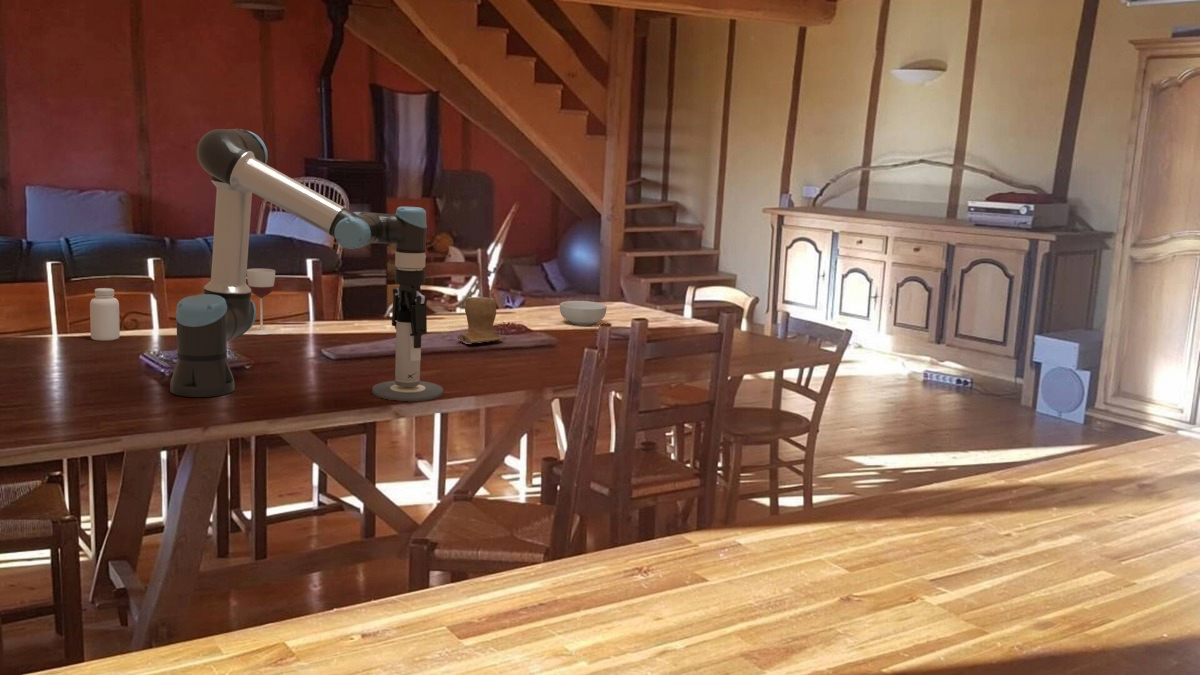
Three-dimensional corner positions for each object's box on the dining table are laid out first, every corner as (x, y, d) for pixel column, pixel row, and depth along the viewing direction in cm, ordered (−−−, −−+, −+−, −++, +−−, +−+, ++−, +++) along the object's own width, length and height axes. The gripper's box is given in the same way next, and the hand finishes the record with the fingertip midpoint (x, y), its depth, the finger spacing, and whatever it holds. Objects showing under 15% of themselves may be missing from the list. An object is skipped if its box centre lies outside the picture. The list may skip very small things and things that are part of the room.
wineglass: (271, 335, 345) (270, 272, 342) (243, 333, 345) (243, 271, 342) (278, 330, 353) (278, 269, 349) (251, 329, 353) (251, 267, 349)
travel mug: (415, 388, 278) (417, 310, 274) (391, 385, 279) (392, 308, 275) (424, 383, 284) (426, 307, 280) (400, 380, 285) (402, 305, 281)
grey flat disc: (393, 404, 269) (393, 399, 269) (359, 389, 283) (359, 383, 283) (456, 396, 281) (456, 391, 280) (420, 382, 294) (420, 377, 294)
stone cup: (484, 337, 361) (485, 292, 359) (507, 343, 353) (509, 297, 351) (447, 341, 351) (449, 295, 348) (471, 348, 343) (472, 300, 340)
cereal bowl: (554, 325, 390) (555, 305, 388) (564, 318, 406) (564, 299, 405) (601, 329, 387) (602, 309, 386) (608, 321, 403) (610, 302, 402)
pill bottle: (125, 338, 328) (124, 289, 326) (101, 342, 322) (99, 292, 319) (109, 335, 333) (108, 286, 330) (85, 338, 326) (83, 288, 323)
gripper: (443, 273, 271) (440, 363, 275) (404, 263, 285) (402, 349, 290) (416, 274, 266) (414, 366, 270) (378, 264, 281) (377, 351, 285)
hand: (408, 357), depth 280 cm, fingers open, 6 cm apart
